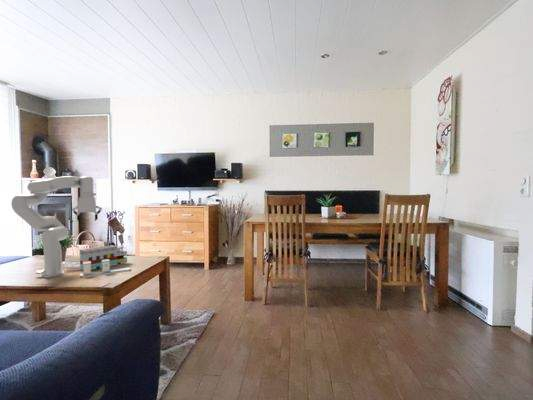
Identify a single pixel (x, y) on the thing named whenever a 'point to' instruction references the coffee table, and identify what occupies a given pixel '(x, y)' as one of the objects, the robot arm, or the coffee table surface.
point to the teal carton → (105, 265)
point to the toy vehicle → (103, 256)
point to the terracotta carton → (87, 268)
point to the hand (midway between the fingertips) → (87, 220)
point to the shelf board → (106, 272)
